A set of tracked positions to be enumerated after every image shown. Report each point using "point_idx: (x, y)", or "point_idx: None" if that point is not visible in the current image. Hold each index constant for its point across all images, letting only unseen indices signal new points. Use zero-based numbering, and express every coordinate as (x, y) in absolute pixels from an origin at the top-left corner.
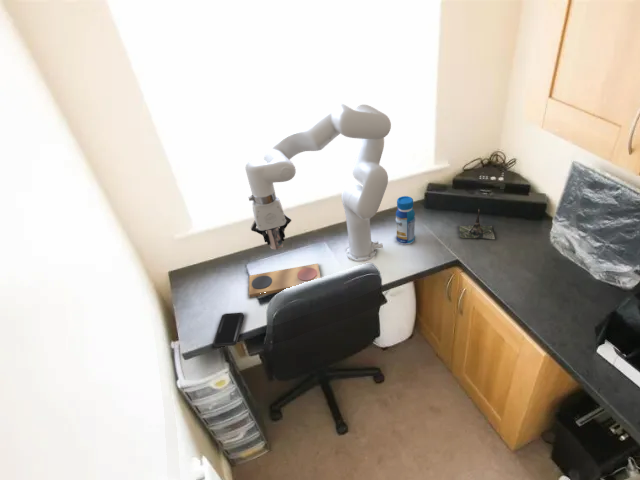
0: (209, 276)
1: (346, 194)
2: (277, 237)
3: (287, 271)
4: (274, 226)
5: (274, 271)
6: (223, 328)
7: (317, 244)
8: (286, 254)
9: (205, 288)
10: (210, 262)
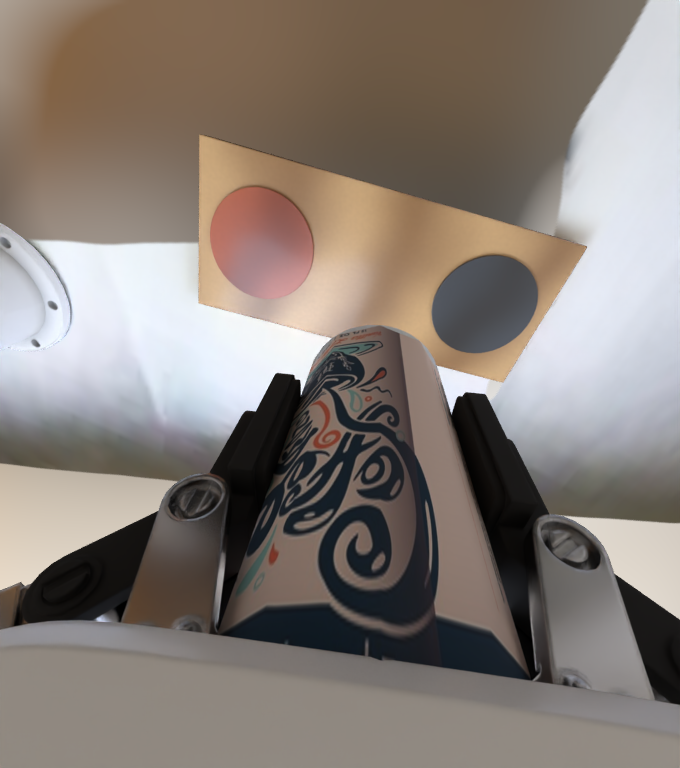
0: (613, 459)
1: None
2: (344, 415)
3: (345, 322)
4: (314, 754)
5: None
6: None
7: (191, 425)
8: None
9: (676, 408)
10: (561, 515)
